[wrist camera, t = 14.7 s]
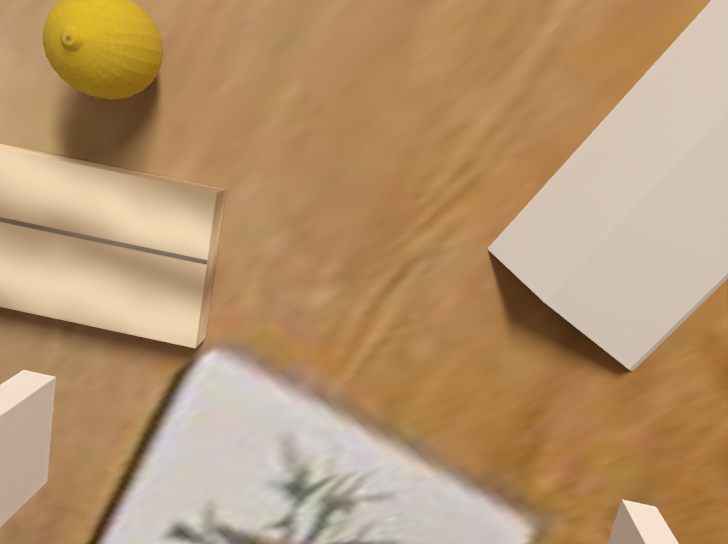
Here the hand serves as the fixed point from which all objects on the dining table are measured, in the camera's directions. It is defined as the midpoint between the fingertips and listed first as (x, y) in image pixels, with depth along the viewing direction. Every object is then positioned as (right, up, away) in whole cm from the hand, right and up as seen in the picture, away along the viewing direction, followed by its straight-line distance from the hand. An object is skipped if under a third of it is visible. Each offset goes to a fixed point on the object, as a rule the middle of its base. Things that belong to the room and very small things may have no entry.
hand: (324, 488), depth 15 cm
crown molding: (+22, +13, +23) cm, 35 cm away
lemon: (-13, +18, +25) cm, 33 cm away
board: (-20, +8, +27) cm, 35 cm away
